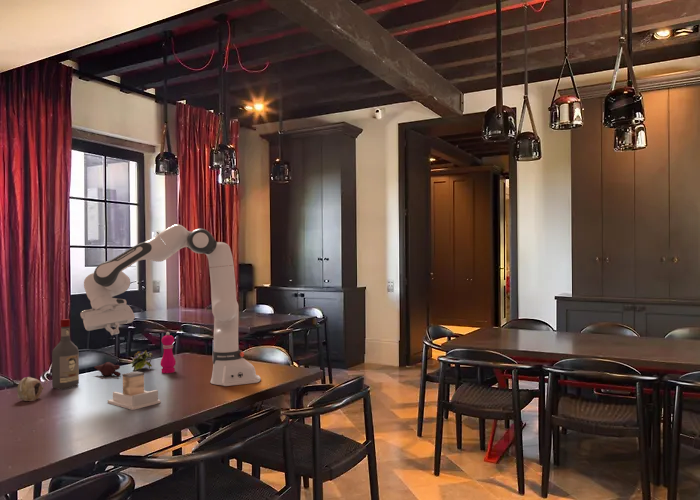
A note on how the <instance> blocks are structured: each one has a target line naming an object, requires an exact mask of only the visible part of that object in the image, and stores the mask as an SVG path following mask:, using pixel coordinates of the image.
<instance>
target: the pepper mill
mask: <svg viewBox="0 0 700 500" xmlns="http://www.w3.org/2000/svg"><path fill="white" fill-rule="evenodd" d="M170 334H171V333H170V332H169V331H167V332H166V333H165V335H163V336H162V338H161V343H162V349H163V354H162V358H161V360H160V367H161V373H162V374H172V373H175V372H176V371H175V370H176V368H175V365H176V358H175V356H174V353H173V348H174V342H175V338H174V336H173V335H172V334H171V335H170Z"/></svg>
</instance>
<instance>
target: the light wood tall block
mask: <svg viewBox="0 0 700 500" xmlns="http://www.w3.org/2000/svg"><path fill="white" fill-rule="evenodd" d="M121 375H122V394H126V395H130V396H132V395H136V394H140V393H144V391H145V372H143V371H137V370H135V372H134V371H131V372H126V373H121Z"/></svg>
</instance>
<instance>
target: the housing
mask: <svg viewBox="0 0 700 500" xmlns="http://www.w3.org/2000/svg"><path fill="white" fill-rule="evenodd" d="M160 403H162V401H161V399H159V390H158V389H153V390H150V391H149V390H148V391H147V390H144V393H140V394H136V395H132V396H130V395H126V394H123V392H118V391H113V392H112V399H108V400H107V404H109V405H114V406H116V407H117V406H118V407H121V408H125V409H128V410H132V411H134V410H138V409H141V408H146V407H149V406H154V405H156V404H157V405H158V404H160Z"/></svg>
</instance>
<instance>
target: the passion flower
mask: <svg viewBox="0 0 700 500" xmlns="http://www.w3.org/2000/svg"><path fill="white" fill-rule="evenodd" d="M133 356H134V358H133V359H131V361H130V364H131V368H133V372H136V371H137V370H141V369H143V368H144V367H145V366H146V365H147V366H148V370H149V371H150V369H151V368H150V367H152V366H153V365H152V364H151V362H152V359H153V356H154V354H153V353H152V352H150V353H148V351H147V350H144V351H137V352H135V353H134V355H133ZM149 358H150V359H149ZM148 359H149V361H148Z"/></svg>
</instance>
